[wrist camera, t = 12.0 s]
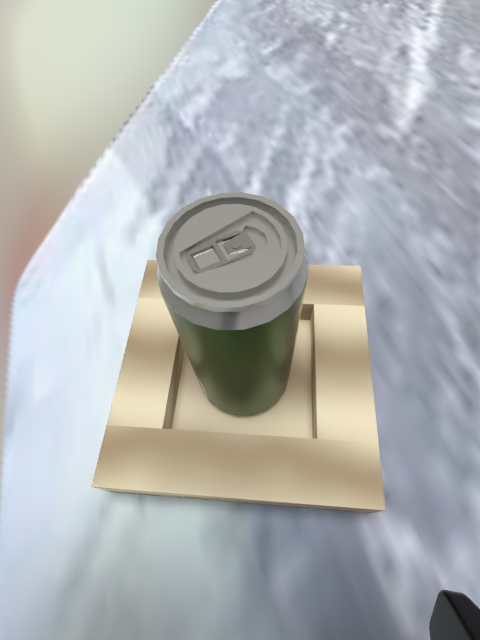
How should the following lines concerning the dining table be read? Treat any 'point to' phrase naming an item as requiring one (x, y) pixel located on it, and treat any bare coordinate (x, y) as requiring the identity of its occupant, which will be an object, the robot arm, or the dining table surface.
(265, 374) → the beer can
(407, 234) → the dining table surface
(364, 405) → the birch tray
